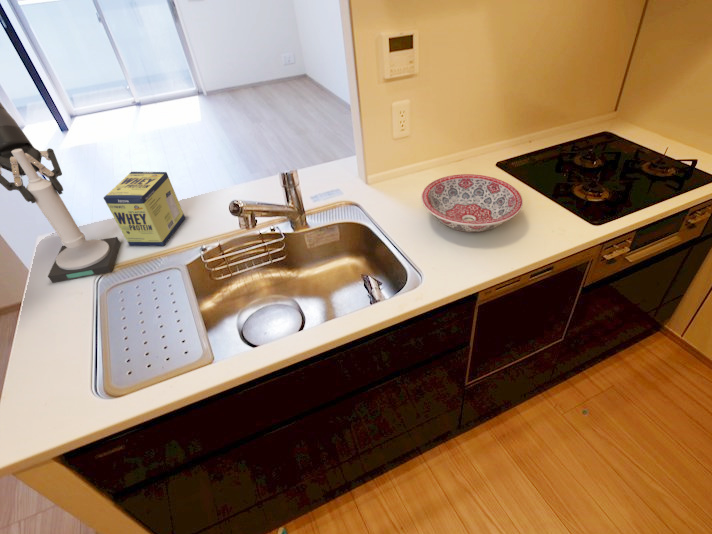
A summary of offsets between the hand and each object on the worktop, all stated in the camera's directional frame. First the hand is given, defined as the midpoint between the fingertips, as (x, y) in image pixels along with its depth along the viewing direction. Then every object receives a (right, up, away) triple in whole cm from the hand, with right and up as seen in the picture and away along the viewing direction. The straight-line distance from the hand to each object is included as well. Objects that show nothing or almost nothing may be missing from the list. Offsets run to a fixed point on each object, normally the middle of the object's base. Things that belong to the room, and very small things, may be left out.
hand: (47, 196), depth 101 cm
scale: (-1, -14, +15) cm, 21 cm away
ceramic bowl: (+105, -1, +28) cm, 109 cm away
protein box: (+12, -4, +25) cm, 29 cm away
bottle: (-1, -10, +11) cm, 14 cm away
